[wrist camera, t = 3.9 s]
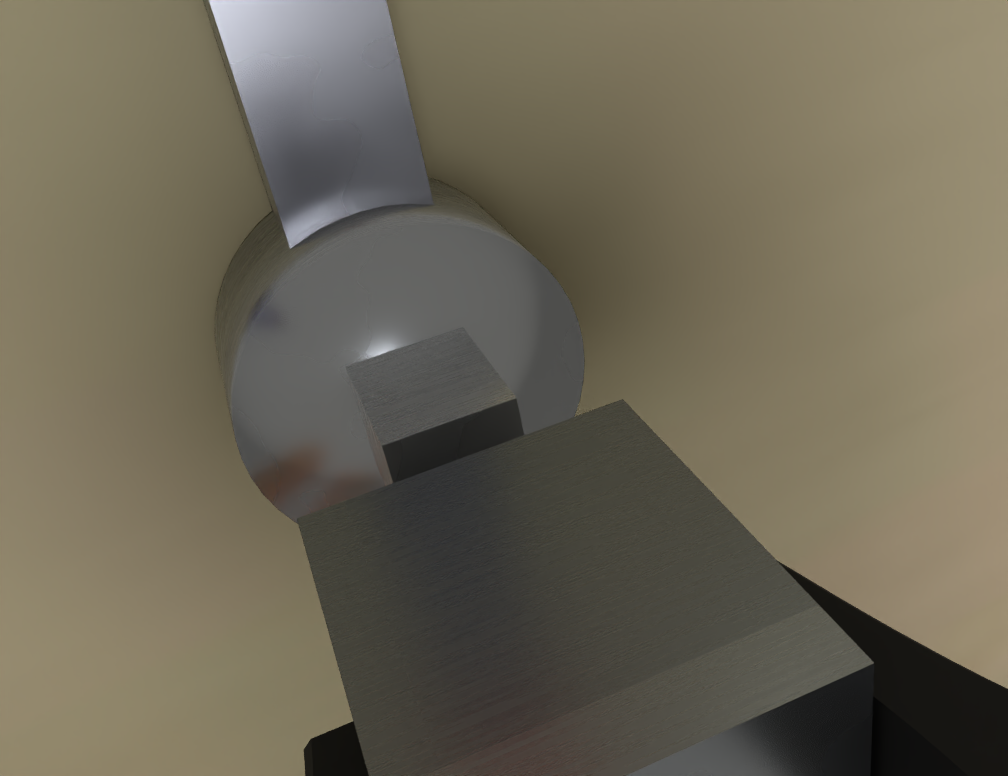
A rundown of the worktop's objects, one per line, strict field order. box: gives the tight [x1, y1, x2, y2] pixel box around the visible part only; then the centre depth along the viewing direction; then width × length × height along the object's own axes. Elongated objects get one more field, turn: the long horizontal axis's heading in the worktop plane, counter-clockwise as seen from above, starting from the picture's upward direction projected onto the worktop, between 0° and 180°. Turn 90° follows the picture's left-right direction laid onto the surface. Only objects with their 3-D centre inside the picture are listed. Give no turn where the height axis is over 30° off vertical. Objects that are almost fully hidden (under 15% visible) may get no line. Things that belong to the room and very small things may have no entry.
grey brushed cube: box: [297, 399, 874, 776], centre depth 11 cm, size 4×4×5 cm
